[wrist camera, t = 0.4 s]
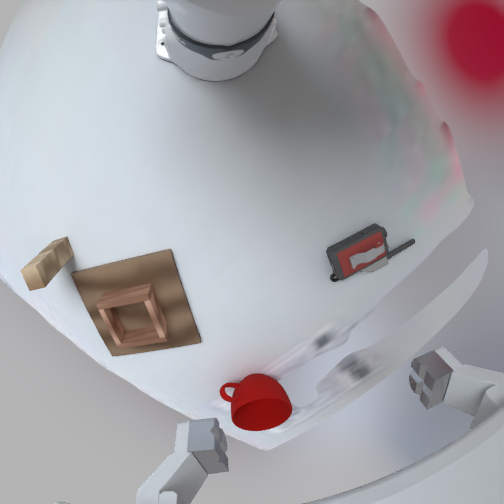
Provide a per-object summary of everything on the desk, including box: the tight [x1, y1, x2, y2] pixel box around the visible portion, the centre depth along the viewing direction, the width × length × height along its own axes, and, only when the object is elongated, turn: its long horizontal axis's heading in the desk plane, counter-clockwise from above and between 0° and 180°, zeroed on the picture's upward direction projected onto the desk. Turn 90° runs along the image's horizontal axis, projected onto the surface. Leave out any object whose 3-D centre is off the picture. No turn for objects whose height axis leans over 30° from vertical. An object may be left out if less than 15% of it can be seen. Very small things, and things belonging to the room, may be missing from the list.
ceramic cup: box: [220, 374, 292, 431], centre depth 58 cm, size 13×17×10 cm
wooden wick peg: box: [21, 237, 74, 291], centre depth 39 cm, size 4×4×12 cm
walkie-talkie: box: [326, 224, 415, 282], centre depth 52 cm, size 9×4×20 cm
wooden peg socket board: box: [71, 249, 201, 356], centre depth 49 cm, size 20×20×5 cm
